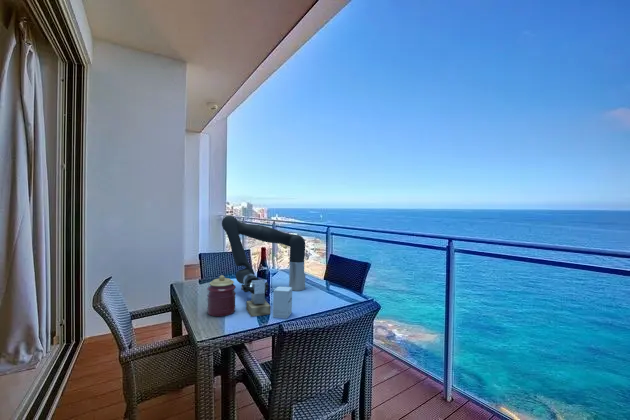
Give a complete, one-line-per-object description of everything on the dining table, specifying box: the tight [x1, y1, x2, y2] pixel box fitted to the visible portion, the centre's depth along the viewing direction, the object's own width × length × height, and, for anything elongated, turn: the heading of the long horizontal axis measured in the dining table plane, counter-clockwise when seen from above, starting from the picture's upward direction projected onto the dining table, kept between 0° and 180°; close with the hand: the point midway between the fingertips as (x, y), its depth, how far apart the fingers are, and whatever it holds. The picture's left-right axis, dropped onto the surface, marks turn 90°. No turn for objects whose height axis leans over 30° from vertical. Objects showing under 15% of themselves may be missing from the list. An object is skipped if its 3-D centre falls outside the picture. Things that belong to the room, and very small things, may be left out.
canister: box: [206, 274, 237, 317], centre depth 141 cm, size 13×13×18 cm
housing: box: [250, 279, 266, 305], centre depth 143 cm, size 5×6×10 cm
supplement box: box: [272, 286, 293, 320], centre depth 139 cm, size 7×7×13 cm
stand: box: [245, 299, 271, 318], centre depth 143 cm, size 9×11×4 cm
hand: (259, 291), depth 140 cm, fingers closed on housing, 5 cm apart
